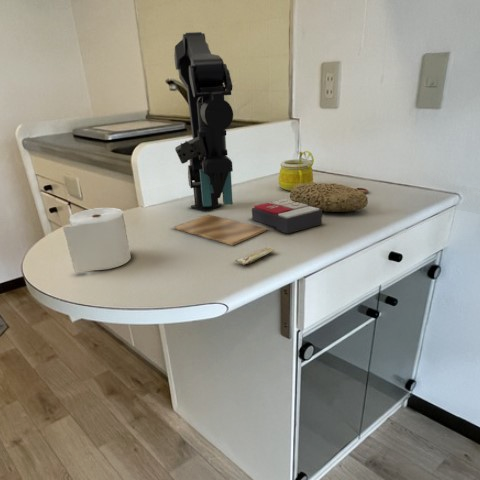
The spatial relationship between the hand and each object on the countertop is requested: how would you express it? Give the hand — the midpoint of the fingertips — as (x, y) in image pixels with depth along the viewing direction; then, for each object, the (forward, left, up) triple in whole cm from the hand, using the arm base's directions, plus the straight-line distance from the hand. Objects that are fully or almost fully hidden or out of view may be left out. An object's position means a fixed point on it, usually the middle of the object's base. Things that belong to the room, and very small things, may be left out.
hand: (216, 196), depth 104 cm
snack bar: (+19, -9, -8) cm, 23 cm away
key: (+13, +43, -8) cm, 46 cm away
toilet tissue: (-6, -29, -9) cm, 31 cm away
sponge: (+13, +29, -9) cm, 33 cm away
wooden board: (0, 0, -8) cm, 8 cm away
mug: (-7, +42, -9) cm, 43 cm away
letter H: (0, 0, -2) cm, 2 cm away
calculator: (+10, +14, -9) cm, 19 cm away
